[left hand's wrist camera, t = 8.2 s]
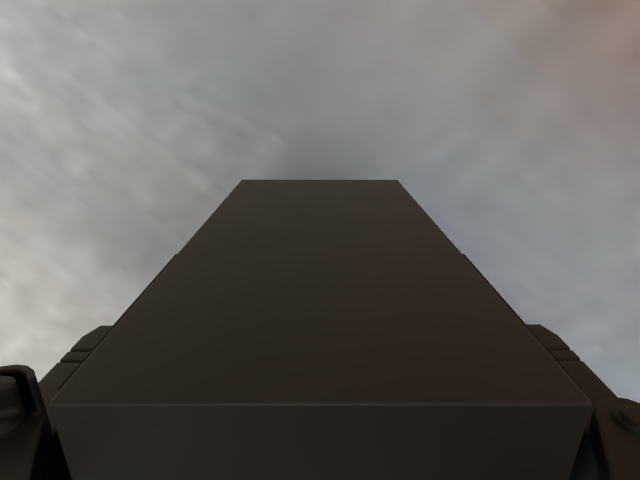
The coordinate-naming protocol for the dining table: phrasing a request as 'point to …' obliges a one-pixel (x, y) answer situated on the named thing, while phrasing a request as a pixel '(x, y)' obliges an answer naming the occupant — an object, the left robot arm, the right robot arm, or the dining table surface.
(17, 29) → the dining table surface
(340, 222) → the box
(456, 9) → the dining table surface
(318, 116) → the dining table surface
